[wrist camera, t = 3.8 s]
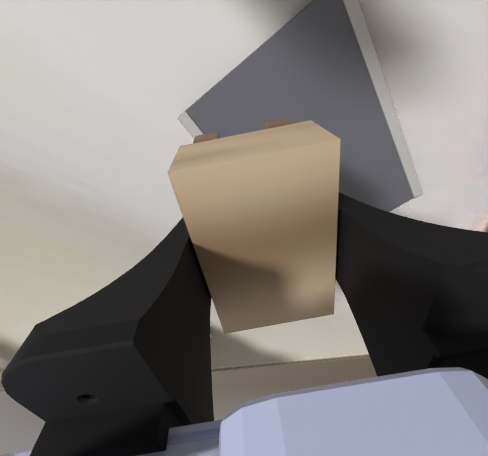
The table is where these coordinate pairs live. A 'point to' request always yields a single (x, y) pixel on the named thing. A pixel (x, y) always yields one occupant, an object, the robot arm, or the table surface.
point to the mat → (320, 99)
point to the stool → (263, 220)
